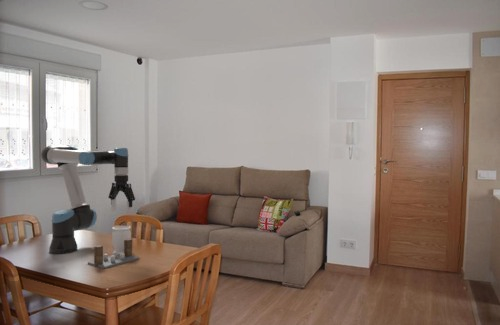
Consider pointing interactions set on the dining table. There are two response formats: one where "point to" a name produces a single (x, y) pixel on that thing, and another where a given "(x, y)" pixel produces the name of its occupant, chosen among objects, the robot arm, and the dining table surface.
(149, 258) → the dining table surface
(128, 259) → the peg stand
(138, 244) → the dining table surface
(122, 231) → the jar
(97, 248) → the frame posts
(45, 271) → the dining table surface
